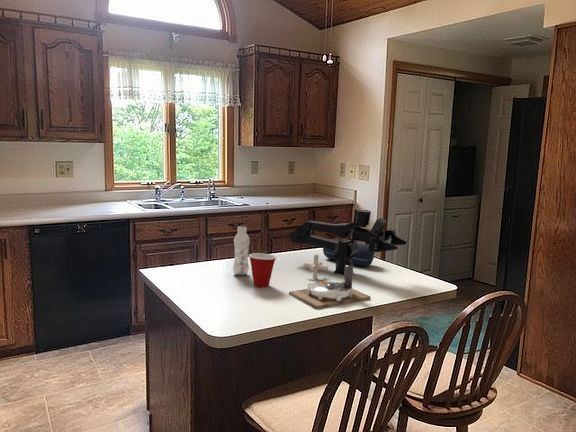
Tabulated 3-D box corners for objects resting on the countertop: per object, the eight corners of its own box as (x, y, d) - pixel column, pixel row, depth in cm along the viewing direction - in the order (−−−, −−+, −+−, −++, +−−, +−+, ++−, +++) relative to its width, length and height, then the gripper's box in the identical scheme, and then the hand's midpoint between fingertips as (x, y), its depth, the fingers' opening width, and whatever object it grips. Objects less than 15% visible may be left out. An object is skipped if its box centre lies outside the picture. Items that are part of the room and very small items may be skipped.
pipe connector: (330, 277, 200) (332, 253, 198) (322, 283, 191) (323, 258, 189) (308, 273, 204) (309, 250, 202) (298, 279, 195) (300, 255, 193)
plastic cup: (280, 284, 187) (282, 254, 185) (266, 291, 178) (267, 259, 176) (257, 279, 192) (258, 250, 190) (241, 286, 183) (242, 255, 181)
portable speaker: (377, 265, 222) (378, 244, 221) (366, 269, 215) (368, 248, 213) (331, 256, 238) (332, 236, 236) (320, 259, 230) (321, 239, 228)
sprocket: (315, 302, 164) (317, 273, 162) (300, 287, 180) (301, 261, 178) (361, 299, 169) (363, 271, 167) (342, 285, 185) (343, 259, 183)
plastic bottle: (229, 275, 196) (230, 227, 193) (237, 271, 202) (238, 224, 199) (243, 277, 194) (245, 228, 191) (251, 273, 200) (252, 226, 197)
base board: (315, 309, 161) (316, 300, 161) (288, 294, 175) (289, 286, 175) (370, 299, 174) (370, 291, 173) (341, 286, 188) (341, 278, 188)
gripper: (358, 221, 190) (395, 230, 182) (379, 213, 205) (413, 221, 197) (355, 247, 193) (391, 258, 185) (375, 238, 208) (409, 247, 199)
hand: (401, 245), depth 191 cm, fingers open, 9 cm apart
